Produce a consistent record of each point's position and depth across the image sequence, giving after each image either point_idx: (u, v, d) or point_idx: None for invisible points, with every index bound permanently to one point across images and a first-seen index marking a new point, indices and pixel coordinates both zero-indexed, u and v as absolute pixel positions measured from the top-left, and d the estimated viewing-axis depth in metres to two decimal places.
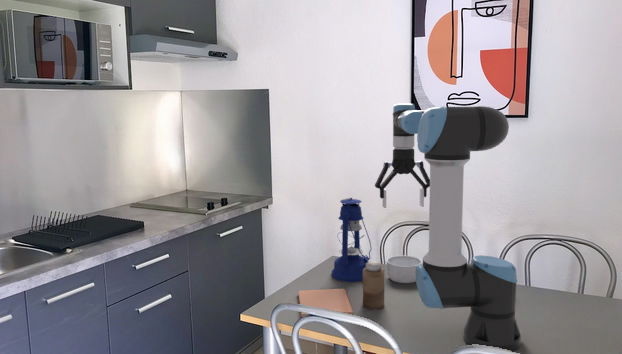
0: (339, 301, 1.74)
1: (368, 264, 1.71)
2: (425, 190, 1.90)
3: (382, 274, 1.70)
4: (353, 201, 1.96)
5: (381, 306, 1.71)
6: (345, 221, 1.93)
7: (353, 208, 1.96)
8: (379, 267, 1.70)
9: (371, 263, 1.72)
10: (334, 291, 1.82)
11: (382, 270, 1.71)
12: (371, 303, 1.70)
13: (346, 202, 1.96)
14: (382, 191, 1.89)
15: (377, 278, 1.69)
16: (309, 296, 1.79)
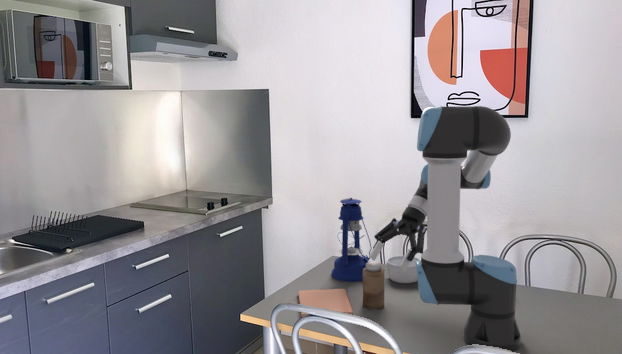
0: (339, 301, 1.74)
1: (368, 264, 1.71)
2: (411, 253, 1.72)
3: (382, 274, 1.70)
4: (353, 201, 1.96)
5: (381, 306, 1.71)
6: (345, 221, 1.93)
7: (353, 208, 1.96)
8: (379, 267, 1.70)
9: (371, 263, 1.72)
10: (334, 291, 1.82)
11: (382, 270, 1.71)
12: (371, 303, 1.70)
13: (346, 202, 1.96)
14: None
15: (377, 278, 1.69)
16: (309, 296, 1.79)
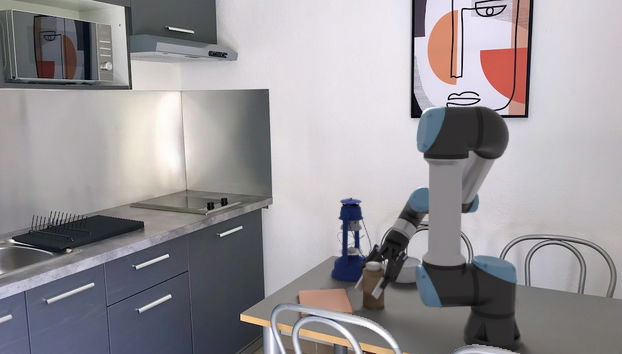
0: (339, 301, 1.74)
1: (368, 264, 1.71)
2: (384, 281, 1.69)
3: (382, 274, 1.70)
4: (353, 201, 1.96)
5: (381, 306, 1.71)
6: (345, 221, 1.93)
7: (353, 208, 1.96)
8: (379, 267, 1.70)
9: (371, 263, 1.72)
10: (334, 291, 1.82)
11: (382, 270, 1.71)
12: (371, 303, 1.70)
13: (346, 202, 1.96)
14: None
15: (377, 278, 1.69)
16: (309, 296, 1.79)
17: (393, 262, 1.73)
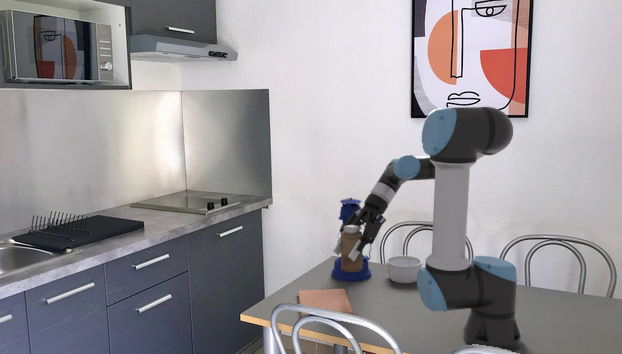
0: (339, 301, 1.74)
1: (346, 227, 1.72)
2: (361, 243, 1.69)
3: (359, 237, 1.70)
4: (353, 201, 1.96)
5: (359, 269, 1.72)
6: (345, 221, 1.93)
7: (353, 208, 1.96)
8: (356, 230, 1.70)
9: (349, 226, 1.73)
10: (334, 291, 1.82)
11: (360, 233, 1.72)
12: (349, 265, 1.71)
13: (346, 202, 1.96)
14: None
15: (354, 240, 1.69)
16: (309, 296, 1.79)
17: (371, 225, 1.73)
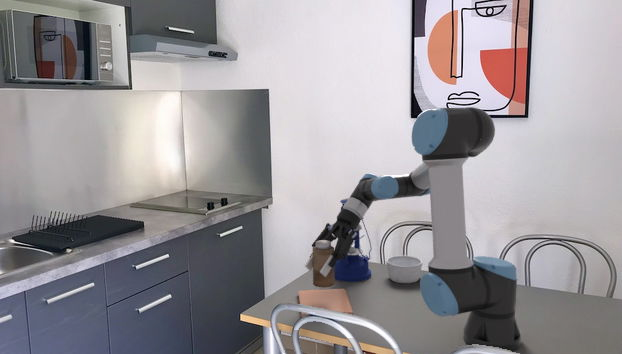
0: (339, 301, 1.74)
1: (318, 242, 1.72)
2: (333, 259, 1.69)
3: (331, 252, 1.70)
4: None
5: (330, 284, 1.71)
6: None
7: None
8: (328, 245, 1.70)
9: (321, 241, 1.72)
10: (334, 291, 1.82)
11: (332, 248, 1.72)
12: (320, 281, 1.70)
13: None
14: None
15: (326, 255, 1.69)
16: (309, 296, 1.79)
17: (343, 240, 1.73)
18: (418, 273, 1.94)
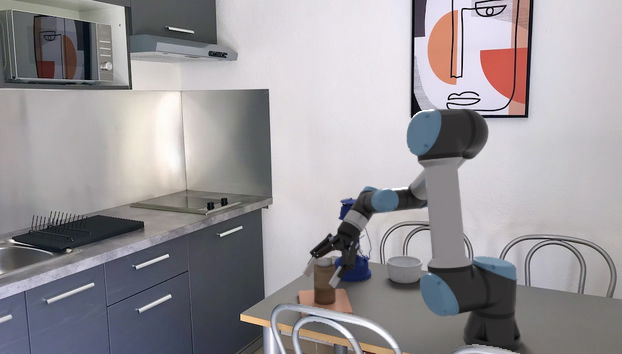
0: (339, 301, 1.74)
1: (319, 259, 1.72)
2: (342, 270, 1.67)
3: (332, 269, 1.70)
4: (353, 201, 1.96)
5: (332, 301, 1.72)
6: None
7: None
8: (329, 262, 1.71)
9: (322, 258, 1.73)
10: None
11: (333, 265, 1.72)
12: (322, 298, 1.71)
13: (346, 202, 1.96)
14: None
15: (327, 273, 1.69)
16: (309, 296, 1.79)
17: (347, 252, 1.73)
18: (418, 273, 1.94)
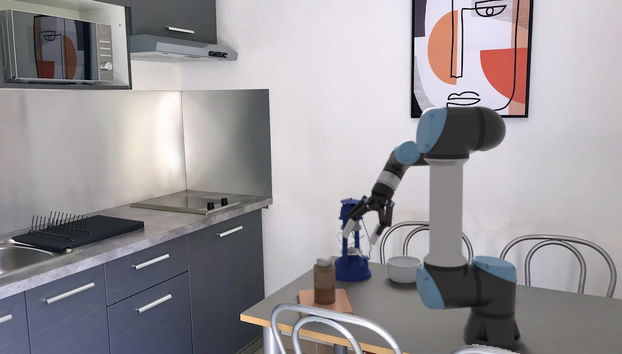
0: (339, 301, 1.74)
1: (319, 260, 1.72)
2: (380, 227, 1.73)
3: (332, 269, 1.70)
4: (353, 201, 1.96)
5: (332, 301, 1.72)
6: (345, 221, 1.93)
7: None
8: (329, 262, 1.71)
9: (322, 259, 1.73)
10: None
11: (333, 265, 1.72)
12: (322, 298, 1.71)
13: (346, 202, 1.96)
14: (349, 220, 1.85)
15: (327, 273, 1.69)
16: (309, 296, 1.79)
17: (382, 211, 1.78)
18: None
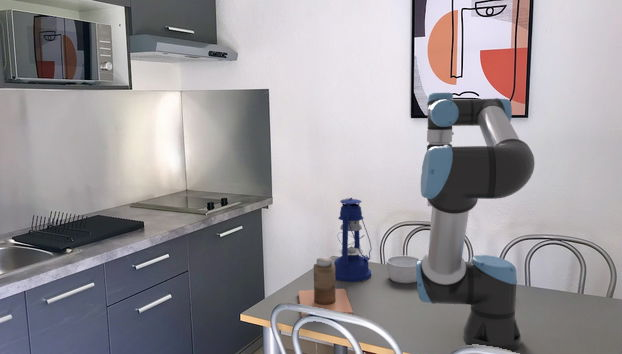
0: (339, 301, 1.74)
1: (319, 260, 1.72)
2: None
3: (332, 269, 1.70)
4: (353, 201, 1.96)
5: (332, 301, 1.72)
6: (345, 221, 1.93)
7: (353, 208, 1.96)
8: (329, 262, 1.71)
9: (322, 259, 1.73)
10: None
11: (333, 265, 1.72)
12: (322, 298, 1.71)
13: (346, 202, 1.96)
14: None
15: (327, 273, 1.69)
16: (309, 296, 1.79)
17: None
18: None
